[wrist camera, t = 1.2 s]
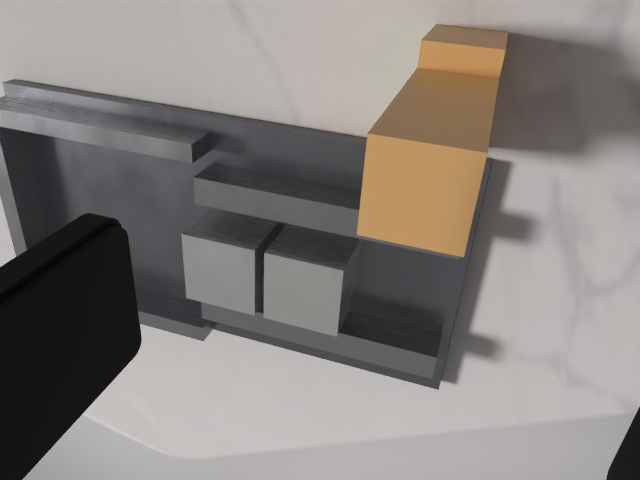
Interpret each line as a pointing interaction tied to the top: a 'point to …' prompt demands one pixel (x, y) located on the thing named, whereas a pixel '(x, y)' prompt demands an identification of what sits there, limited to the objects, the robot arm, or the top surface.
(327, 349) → the slot board
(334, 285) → the grey cube
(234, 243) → the chip
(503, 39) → the tan stepped beam
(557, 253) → the top surface
